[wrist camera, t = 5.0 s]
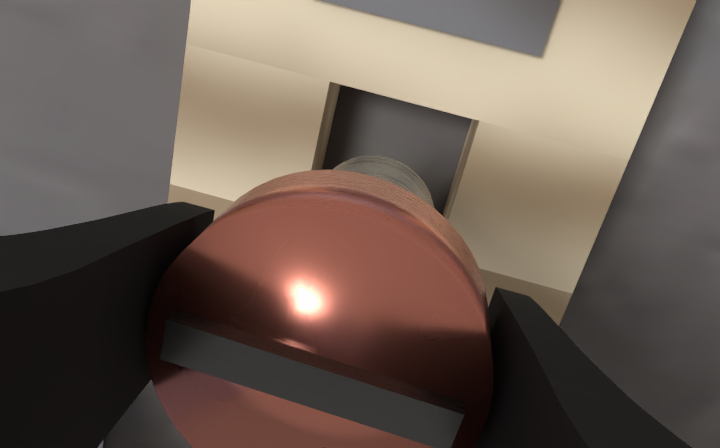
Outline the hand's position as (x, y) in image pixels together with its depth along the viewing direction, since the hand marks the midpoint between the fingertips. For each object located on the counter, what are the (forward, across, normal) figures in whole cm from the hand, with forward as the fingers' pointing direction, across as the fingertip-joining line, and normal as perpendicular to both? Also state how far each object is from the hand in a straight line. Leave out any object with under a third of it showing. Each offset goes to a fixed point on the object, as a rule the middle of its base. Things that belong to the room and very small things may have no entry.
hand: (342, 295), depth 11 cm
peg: (+4, 0, 0) cm, 4 cm away
